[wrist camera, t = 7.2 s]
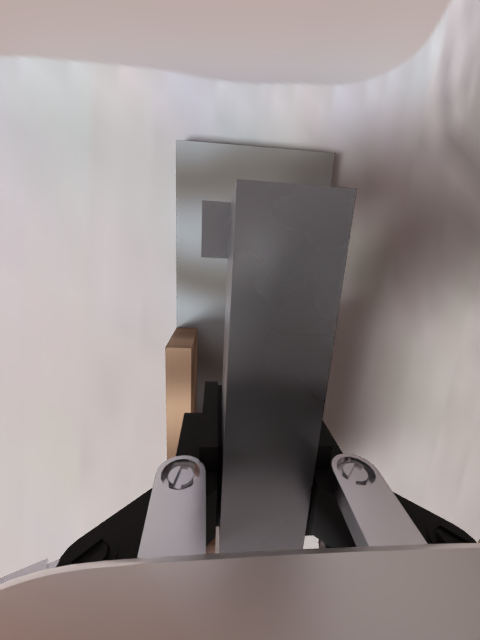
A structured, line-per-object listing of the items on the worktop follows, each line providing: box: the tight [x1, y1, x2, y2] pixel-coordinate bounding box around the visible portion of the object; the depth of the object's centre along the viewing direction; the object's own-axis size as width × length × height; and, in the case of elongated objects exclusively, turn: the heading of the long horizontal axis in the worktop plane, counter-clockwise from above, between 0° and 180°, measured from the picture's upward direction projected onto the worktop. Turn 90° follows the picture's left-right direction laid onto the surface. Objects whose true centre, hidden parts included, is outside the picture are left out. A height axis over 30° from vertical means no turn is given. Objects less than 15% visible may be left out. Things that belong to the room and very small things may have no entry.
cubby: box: [165, 140, 335, 545], centre depth 19 cm, size 30×10×5 cm, turn 177°
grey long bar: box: [201, 179, 357, 554], centre depth 12 cm, size 22×5×8 cm, turn 177°
